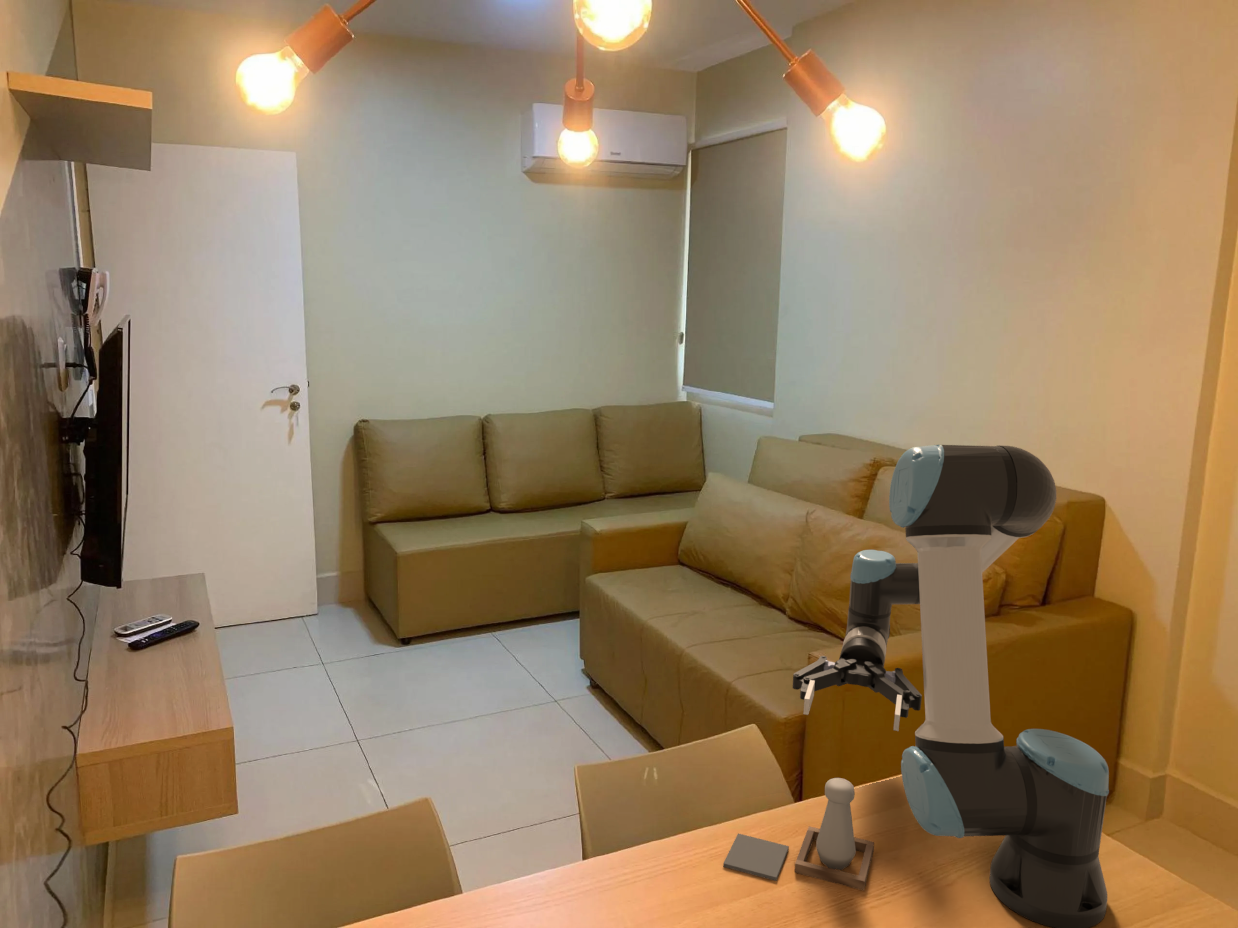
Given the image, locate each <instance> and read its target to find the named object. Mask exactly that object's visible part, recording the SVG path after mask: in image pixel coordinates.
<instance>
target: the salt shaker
mask: <svg viewBox="0 0 1238 928" xmlns="http://www.w3.org/2000/svg"><path fill="white" fill-rule="evenodd" d="M855 793H856V792H855V786H854V785H853V784H852V782H850V781H849V780H847V779H845V778H841V777H834V778H830V779H829V780H827V782H825V786H824V796H825V797H826V799H827V803H826V808H825V810H824V814H823V817H822V820H821V825H820V828H819V829H820V831H819V834H818V838H817V841H816V840H815V841H816V844H815V845H816V846H815V847H816V852H817V855H818V858H819V860H820V862H821V863H822V864H824V866H825V867H828V868H832V869H835V870H839V871H842V870H844V869H845V868H847V867H849V866H850V864H851V863H852V861H853V859H854V857H855V856H856V854H857V853H856V852H857V850H856V849H855V841H854V837H855V833H854V826H853V815H852V810H851V807H852V806H851V803H852V802H853V800H854V799H855Z"/></svg>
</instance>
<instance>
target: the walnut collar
mask: <svg viewBox="0 0 1238 928" xmlns="http://www.w3.org/2000/svg"><path fill="white" fill-rule="evenodd" d="M819 831H820V828H818V827H814V826H810V825H809V826H808V827H807V830H806V833H805V835H804V838H803V841H802V844H801V846H800V849H799V851H798V855H797V856H796V857H797V858H796V860H795V862H794V873H795V874H799V875H803V876H806V877H811V878H814V879H819V880H821V881H825V882H830V883H833V884H836V885H841V886H845V887H849V888H852V889H856V890H859V891H865V889H866V884H867V879H868V875H869V872H870V867H871V863H872V860H873V854H874V851H875V841H872V840H868V839H864V838H860V837H855V836H854V841H855V849H856V852H857V851H858V852H861V853H863V858H862V861H861V865H860V869H859V872H858V874H854V873H850V872H847V871H842V870H837V869H832V868H828V867H827V866H825V865H819V864H815V863H811V862H808V861H807V859H808V856H809V853H810V851H811V848H812V846H813V842H814V841H817V838H818V834H819Z"/></svg>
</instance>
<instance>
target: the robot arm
mask: <svg viewBox="0 0 1238 928" xmlns="http://www.w3.org/2000/svg"><path fill="white" fill-rule="evenodd" d="M891 476H892V477H891V481H890V487H889V495H888V496H889V500H888V501H889V503H888V505H889V512H890V513H891V514H890V516H891V519H892V522H893V523H894V524H895V525H896V526H899V527H900V528H902V529H903V528H905V529H904V530H905V540H906V542H908V543H909V544H910V545H911V547H913V548H914V549H915V550H916V552H917V553H916V554H917V562H896V558H895V556H894V555H893V554H891V553H890V552H888V551H884V550H876V549H864V550H861V551H858V552H857V553H856V554H855V555H854V556H853V561H852V565H851V566H852V567H851V572H850V587H849V604H848V609H847V610H848V611H847V623H846V629H845V630H846V631H845V636H844V639H843V643H842V646H841V651H840V654H839V659H838V660H836V661H835V662H834V661H829V660H828V657H827V656H825V655H820V656H819V658H818V659H817V660H816V661H814V662H813V663H811V664H809V665H806V666H805V667H803V668H801V669H799V670H798V671H796V672H794V673H793V676H792V689H793V690H796V691H797V690H799V691H800V692H799V693H800V694H799V698H800V700H803V701H804V703H803V715H806V716H809V713H810V710H811V707H812V703H813V700H814V697H815V692H817V691H820V690H824V689H826V688H830V687H833V686H836V687H842V686H844V685H852V686H860V687H865V688H869V689H870V690H871V691H873V693H876V694H877V693H879V694H880V695H882V696H883V697H884V698H886V699H887V700H889V701H890V702H891V703H893V705H895V711H894V721H893V729H892V730H893V731H897V732H899V730H900V729H899V728H900V720H901V718H905V719H908V717H909V710H910V709H913V710H914V711H920V710H921V709H922V697H923V695H922V694H921V693H920V691H919V690H918V689H917V688H916V687H915V686H914V685H913V684H912V683H911V682H910V680H909V679H908V678H907V677H906V675H904V671H903V668H901V667H895V668H894V670H892V671H889V670H888V671H887V670H886V669H885V662H886V656H887V647H888V646H887V645H888V640H889V639H890V634H891V633H890V632H891V613H892V608H893V607H892V606H893V605H919V607H920V608H919V609H920V611H919V612H920V634H921V653H922V671H923V674H922V675H923V690H924V691H923V694H924V712H925V715H924V716H925V720H924V722H923V723H922V724H921V725H920V726H919V727H918V728H917V729H916V730H915V732H914V736H915V737H914V739H915V740H914V741H915V746H914V745H912V746H909V747H907V748H905V749H904V750H903V752H902V755H901V758H902V759H901V761H900V766H901V767H900V771H901V781H902V785H903V789H904V792H905V796H906V800H907V803H908V805H909V808H910V810H911V813H912V815H913V816H914V818H915V820H916V821H917V823H918V824H919V826H920V827H921V828H922V829H923V830H924V831H926V832H927V833H928V834H929V835H933V836H937V837H955V838H957V839H962V838H964V837H990V836H991V837H996V836H998V837H999V836H1000V837H1001V836H1004V838H1003V839H1002V842H1001V843H1000V845H999V847H998V848H997V851H996V852H995V854H994V855H993V858H992V860H991V863H990V870H989V885H990V887H991V889H992V892H993V893H994V894H995V896H996V897H997V898H998V899H999V900H1000V901H1001V902H1002V903H1003V904H1004V905H1005V906H1006V907H1007V908H1009V909H1010V910H1012V911H1013V912H1015V913H1016V914H1017V915H1020V916H1021V917H1022V918H1025V919H1027V920H1030V921H1032V922H1034V923H1037V924H1039V925H1043V926H1047V927H1050V928H1091V927H1095V926H1096V925H1098V924H1099V923H1100V922H1102V921H1103V920H1104V918H1105V915H1106V914H1107V913H1106V912H1107V906H1108V890H1107V886H1106V882H1105V877H1104V873H1103V870H1102V866H1101V862H1100V857H1099V855H1100V846H1101V843H1102V842H1101V839H1102V834H1103V825H1104V818H1105V811H1106V803H1107V797H1108V796H1109V793H1110V790H1109V781H1110V780H1109V779H1110V778H1109V777H1110V776H1109V775H1110V772H1109V769H1110V768H1109V766H1108V762H1107V761H1106V759H1105V758H1104V757H1103V756H1102V755H1101V754H1100V753H1099V752H1098V751H1097V750H1096V749H1095V748H1094V747H1092V746H1091V745H1089V744H1087V743H1085V742H1083V741H1082V740H1080V739H1078V738H1075V737H1074V736H1070V735H1068V734H1065V733H1061V732H1058V731H1054V730H1051V729H1043V728H1028V729H1025V730H1023V731H1022V732H1020V733H1019V734H1018V737H1017V738H1016V743H1015V744H1016V745H1013V746H1005V742H1004V741H1005V740H1004V735H1003V733H1001V732H1000V731H999V730H998V729H997V728H996V727H995V726H994V725H993V724H992V719H991V703H990V686H989V684H990V683H989V672H988V671H989V670H988V668H989V667H988V651H987V638H986V637H987V633H986V616H985V615H986V614H985V601H984V599H985V598H984V597H985V596H984V581H983V573H984V572H985V571H986V570H987V569H988V568H989V567H990V566H991V565H992V564H994V562H996V560H998V559H999V558H1000V557H1001V556H1002V555H1003V554H1004V553H1005V552H1006V551H1007V550H1008V549H1009V548H1010V547H1012V545H1014V543H1016V541H1017V540H1019V539H1021V538H1027V537H1030V536H1031V535H1034V534H1035V533H1037V532H1038V530H1040V529H1041V528H1042V527H1043V526H1044V524H1045V523H1046V522H1048V520H1049V519H1050V517H1051V516H1052V514H1053V512H1054V510H1055V506H1056V503H1057V502H1056V501H1057V486H1056V483H1055V479H1054V477H1053V475H1052V472H1051V470H1049V468H1048V467H1047V465H1046V464H1045V463H1044V462H1043V461H1042V460H1041V459H1040V458H1039V457H1038V456H1037V455H1034V454H1033V453H1031V452H1029V451H1028V450H1026V449H1023V448H1021V447H1017V446H1013V445H1012V446H1011V445H970V444H969V445H964V444H963V445H961V444H956V445H955V444H934V445H922V446H913V447H911V448H909V449H906V450H905V451H904V452H903V454H901V456H900V458H899V459H898V460H897V462H896V465H895V467H894V469H893V473H892V475H891Z"/></svg>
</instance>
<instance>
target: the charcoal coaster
mask: <svg viewBox="0 0 1238 928" xmlns="http://www.w3.org/2000/svg"><path fill="white" fill-rule="evenodd" d="M789 850H790V846H789V845H786V844H781V843H778V842H774V841H769V840H766V839H762V838H757V837H753V836H751V835H747V834H742V833H737V834H736V837H735V839H734V840H733V843H732V845H731V847H730V849H729V850H728V853H727V855H726V856H725V858H724V861H723V868H727V869H730V870H734V871H738V872H742V873H745V874H749V875H752V876H756V877H760V878H763V879H766V880H769V881H770V880H771V881H774V882H777V880H778V877H779V875H780V874H781V871H782V868H783V865H784V864H785V863H784V862H785V860H786V858H787V854H788V853H789Z"/></svg>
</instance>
